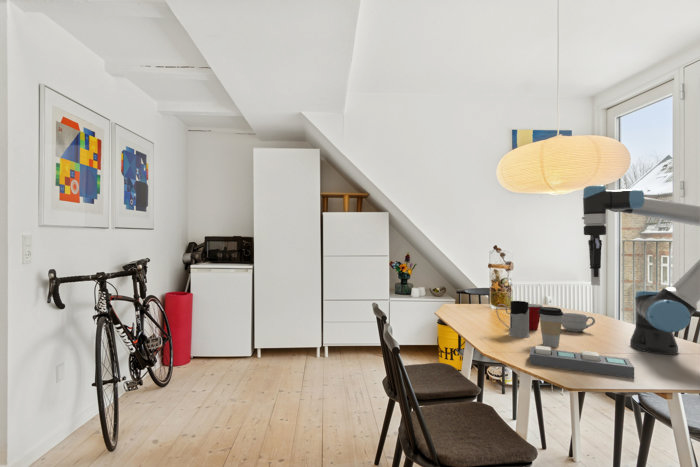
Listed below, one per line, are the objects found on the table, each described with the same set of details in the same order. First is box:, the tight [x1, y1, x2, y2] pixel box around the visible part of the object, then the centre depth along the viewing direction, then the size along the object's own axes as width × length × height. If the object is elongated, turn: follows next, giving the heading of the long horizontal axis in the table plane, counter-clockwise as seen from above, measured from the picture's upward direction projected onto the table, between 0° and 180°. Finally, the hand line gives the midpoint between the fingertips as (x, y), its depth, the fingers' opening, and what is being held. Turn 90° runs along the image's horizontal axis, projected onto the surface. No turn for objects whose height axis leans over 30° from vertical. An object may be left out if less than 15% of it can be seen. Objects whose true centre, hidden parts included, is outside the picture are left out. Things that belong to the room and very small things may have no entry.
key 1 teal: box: [606, 358, 626, 364], centre depth 130 cm, size 5×5×2 cm
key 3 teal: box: [558, 352, 575, 358], centre depth 137 cm, size 5×5×2 cm
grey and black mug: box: [495, 300, 531, 339], centre depth 178 cm, size 9×14×15 cm, turn 75°
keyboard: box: [529, 346, 635, 379], centre depth 135 cm, size 30×10×4 cm, turn 64°
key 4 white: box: [535, 344, 552, 355], centre depth 140 cm, size 5×5×2 cm
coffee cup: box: [538, 306, 564, 348], centre depth 162 cm, size 9×9×15 cm
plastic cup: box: [529, 303, 544, 331], centre depth 191 cm, size 11×11×12 cm
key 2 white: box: [581, 350, 600, 361], centre depth 133 cm, size 5×5×2 cm
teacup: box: [561, 312, 596, 333], centre depth 186 cm, size 14×11×8 cm
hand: (595, 285), depth 154 cm, fingers closed
